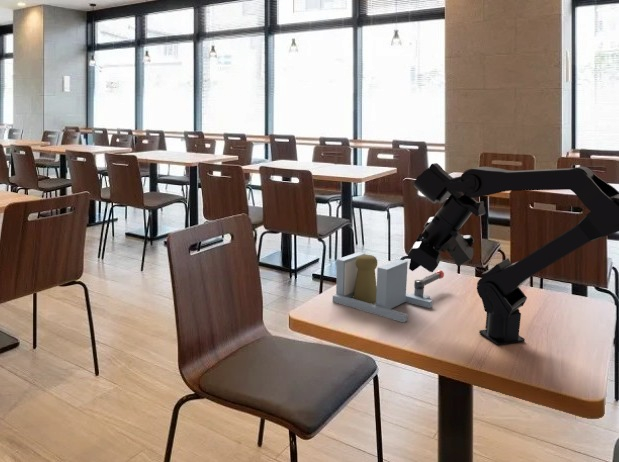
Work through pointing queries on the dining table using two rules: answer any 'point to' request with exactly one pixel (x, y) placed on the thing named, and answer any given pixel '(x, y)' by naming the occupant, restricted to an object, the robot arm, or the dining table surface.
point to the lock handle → (428, 279)
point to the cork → (365, 279)
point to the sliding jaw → (391, 284)
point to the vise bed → (348, 279)
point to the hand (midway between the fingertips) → (411, 269)
